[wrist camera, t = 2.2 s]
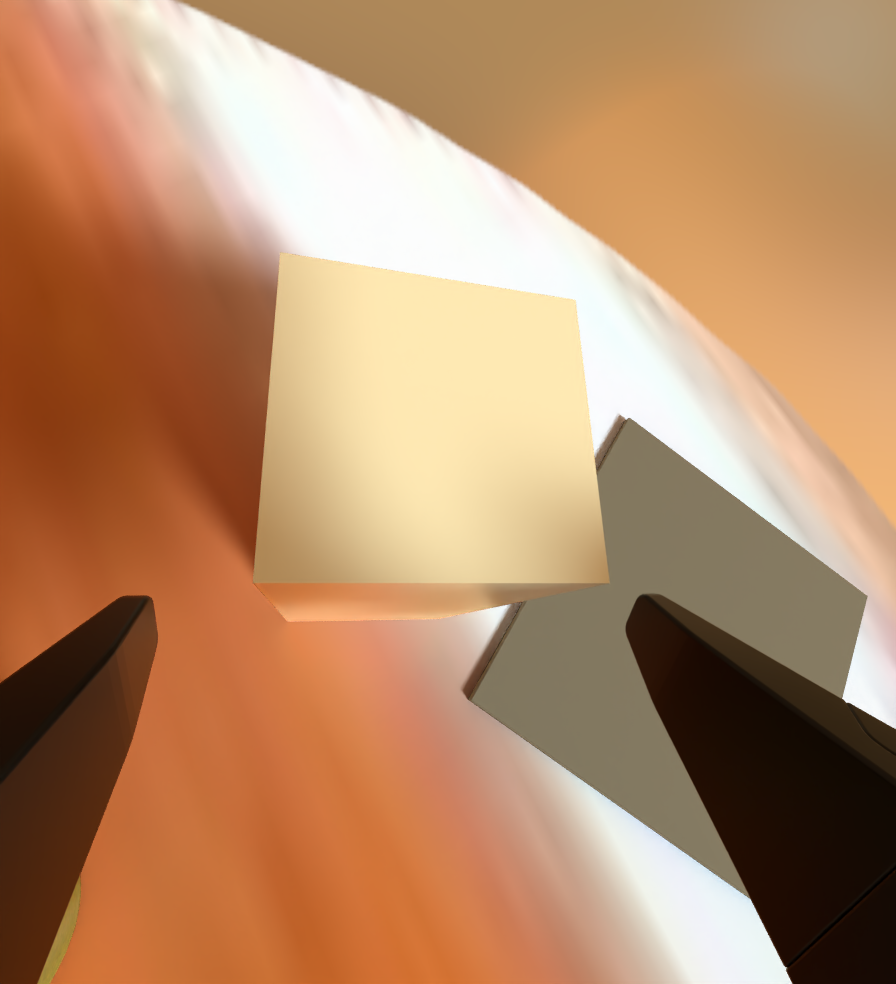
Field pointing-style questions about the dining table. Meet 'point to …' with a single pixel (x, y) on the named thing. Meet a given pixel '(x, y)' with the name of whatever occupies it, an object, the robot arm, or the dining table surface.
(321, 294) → the tall cream pillar
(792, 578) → the mat
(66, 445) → the dining table surface
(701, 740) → the robot arm
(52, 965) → the plant pot
